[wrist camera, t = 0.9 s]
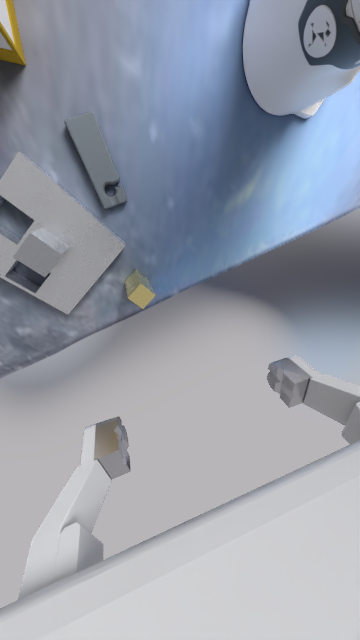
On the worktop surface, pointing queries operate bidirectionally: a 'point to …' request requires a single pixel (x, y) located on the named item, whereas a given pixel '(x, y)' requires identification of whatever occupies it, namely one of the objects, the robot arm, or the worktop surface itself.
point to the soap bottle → (10, 34)
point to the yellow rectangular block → (139, 289)
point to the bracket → (95, 157)
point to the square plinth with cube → (53, 237)
